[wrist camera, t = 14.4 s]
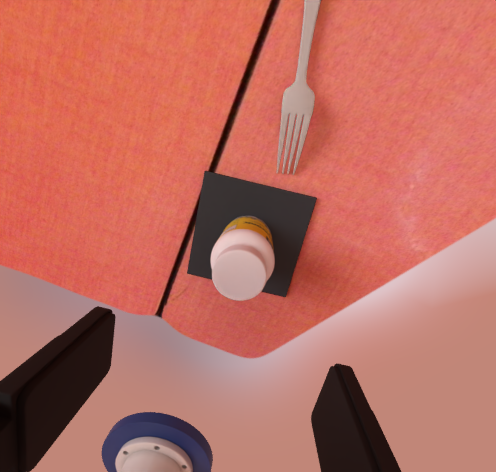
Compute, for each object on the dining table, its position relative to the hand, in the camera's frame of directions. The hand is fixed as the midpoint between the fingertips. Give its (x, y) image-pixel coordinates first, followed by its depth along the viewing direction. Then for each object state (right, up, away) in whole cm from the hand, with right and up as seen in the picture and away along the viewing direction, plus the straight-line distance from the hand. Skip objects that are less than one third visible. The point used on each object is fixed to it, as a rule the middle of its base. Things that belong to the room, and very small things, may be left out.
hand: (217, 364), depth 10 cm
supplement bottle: (+1, +5, +16) cm, 17 cm away
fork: (+6, +22, +12) cm, 26 cm away
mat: (+1, +5, +17) cm, 17 cm away
